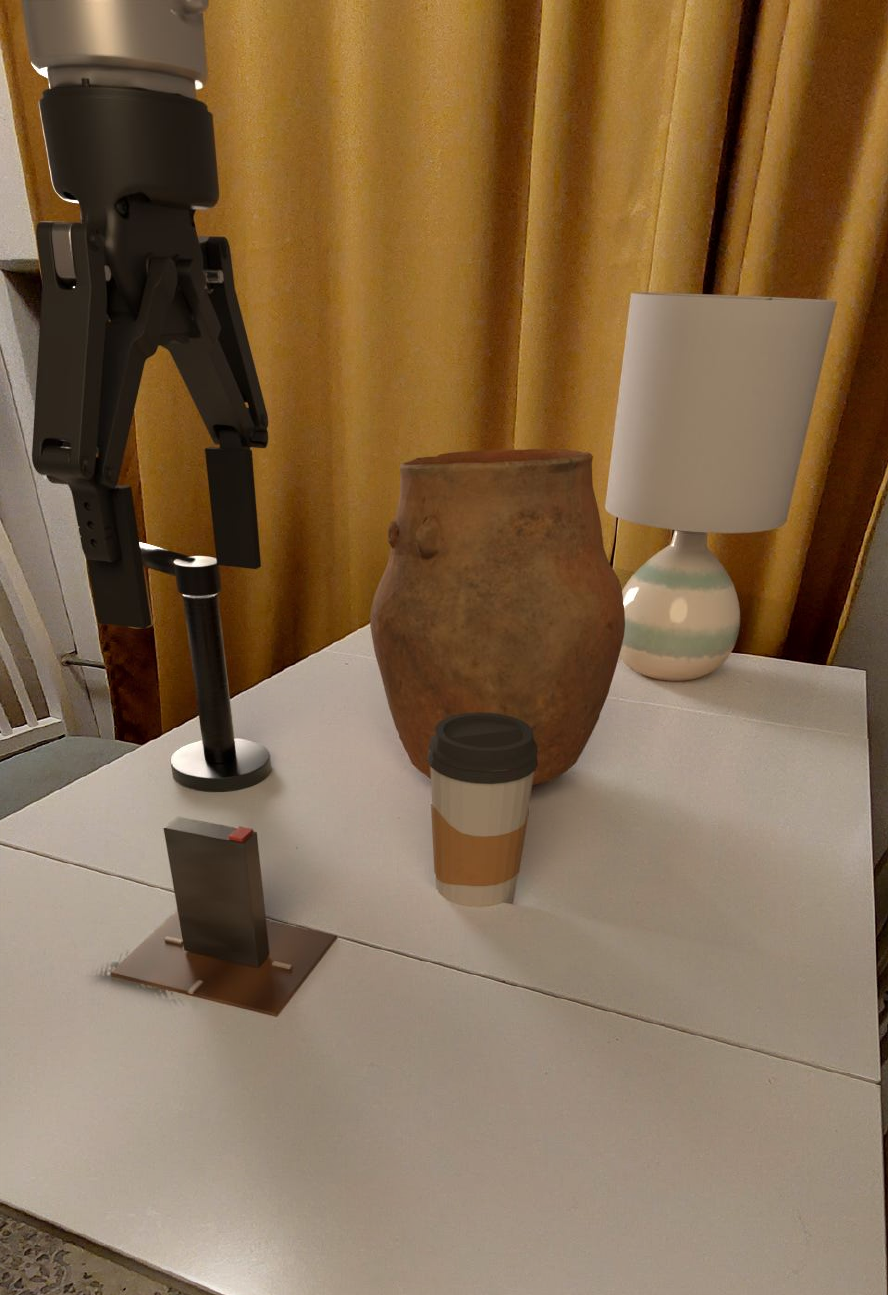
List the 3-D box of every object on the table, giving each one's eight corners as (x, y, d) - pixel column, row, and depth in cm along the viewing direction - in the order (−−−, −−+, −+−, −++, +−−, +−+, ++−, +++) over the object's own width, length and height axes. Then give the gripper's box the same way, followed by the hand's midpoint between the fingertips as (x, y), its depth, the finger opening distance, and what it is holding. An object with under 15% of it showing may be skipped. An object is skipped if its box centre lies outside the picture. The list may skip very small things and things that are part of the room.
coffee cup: (541, 920, 76) (560, 745, 67) (446, 939, 74) (453, 760, 65) (499, 870, 82) (511, 704, 73) (410, 887, 80) (411, 716, 71)
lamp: (636, 634, 138) (687, 293, 113) (776, 669, 127) (866, 301, 103) (554, 671, 124) (593, 291, 100) (704, 713, 114) (788, 301, 89)
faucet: (153, 782, 94) (121, 601, 84) (204, 745, 102) (181, 574, 91) (242, 799, 92) (221, 614, 81) (287, 759, 100) (273, 586, 89)
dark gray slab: (184, 951, 68) (162, 824, 62) (196, 937, 69) (176, 812, 63) (258, 968, 67) (243, 840, 60) (270, 954, 68) (256, 828, 62)
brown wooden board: (114, 996, 67) (108, 971, 66) (188, 922, 75) (185, 899, 73) (278, 1037, 64) (275, 1012, 63) (338, 956, 72) (337, 932, 70)
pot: (486, 712, 112) (502, 420, 94) (651, 777, 99) (707, 453, 80) (328, 768, 98) (311, 440, 80) (494, 853, 85) (520, 483, 67)
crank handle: (237, 648, 90) (227, 559, 85) (203, 658, 87) (192, 566, 82) (148, 618, 96) (135, 533, 92) (115, 626, 94) (99, 540, 89)
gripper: (26, 28, 31) (131, 665, 44) (310, 129, 51) (326, 552, 63) (-162, 31, 33) (-7, 646, 46) (184, 128, 52) (225, 541, 65)
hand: (187, 592), depth 55 cm, fingers open, 13 cm apart
